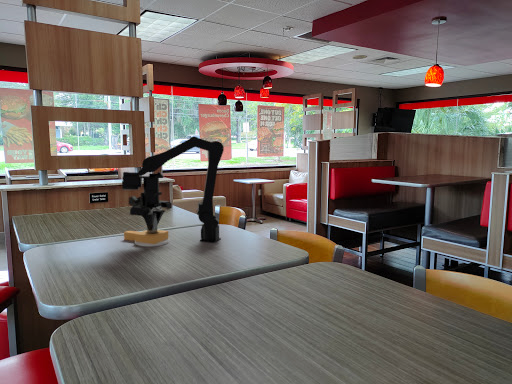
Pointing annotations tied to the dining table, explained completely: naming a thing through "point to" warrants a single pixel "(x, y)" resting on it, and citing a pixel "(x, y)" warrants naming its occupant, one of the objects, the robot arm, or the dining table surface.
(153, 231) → the dark grey post
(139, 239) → the bracket
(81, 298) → the dining table surface
